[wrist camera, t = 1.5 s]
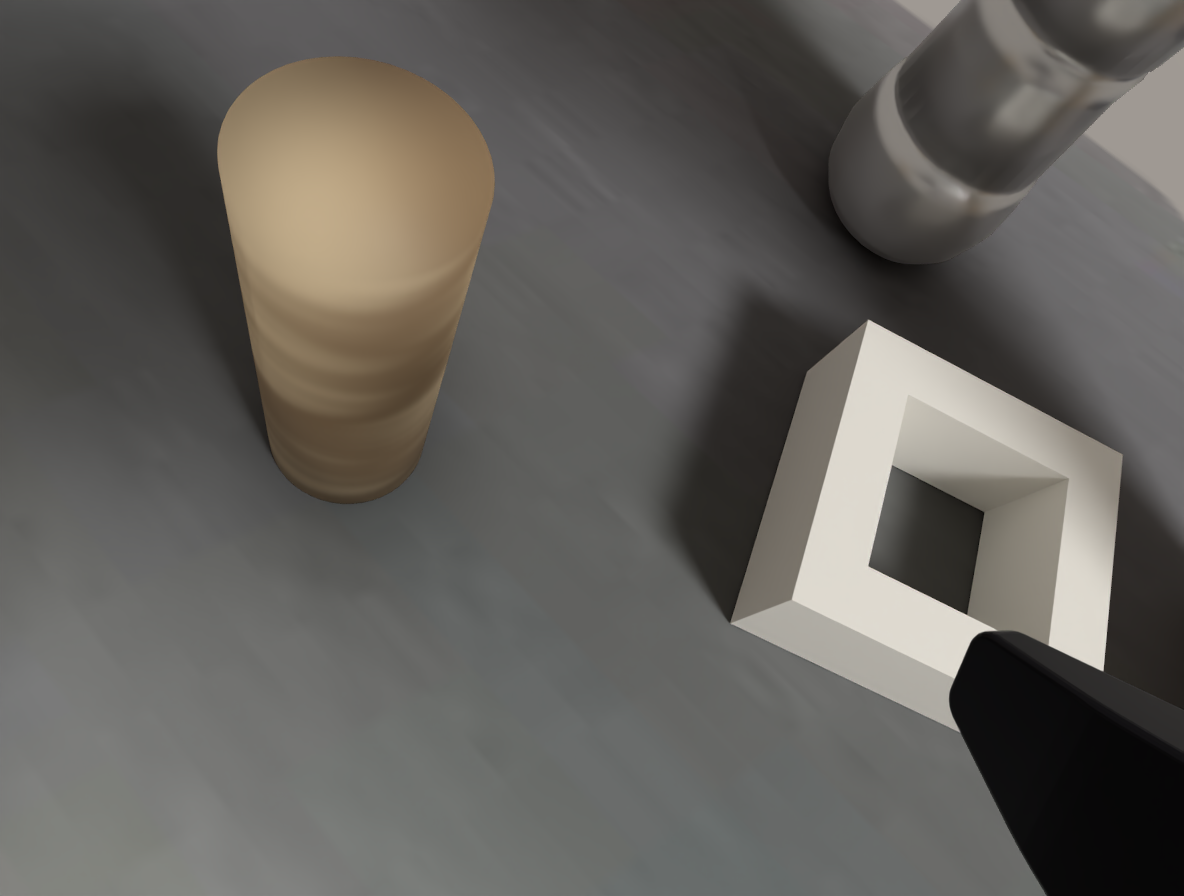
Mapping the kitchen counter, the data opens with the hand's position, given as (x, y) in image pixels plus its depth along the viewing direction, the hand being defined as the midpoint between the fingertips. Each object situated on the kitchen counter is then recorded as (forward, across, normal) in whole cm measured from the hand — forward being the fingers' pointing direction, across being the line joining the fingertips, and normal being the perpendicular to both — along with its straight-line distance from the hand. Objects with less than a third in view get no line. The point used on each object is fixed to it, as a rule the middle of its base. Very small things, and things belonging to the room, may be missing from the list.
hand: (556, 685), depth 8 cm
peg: (+15, +2, +5) cm, 16 cm away
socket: (+13, -15, +7) cm, 21 cm away
